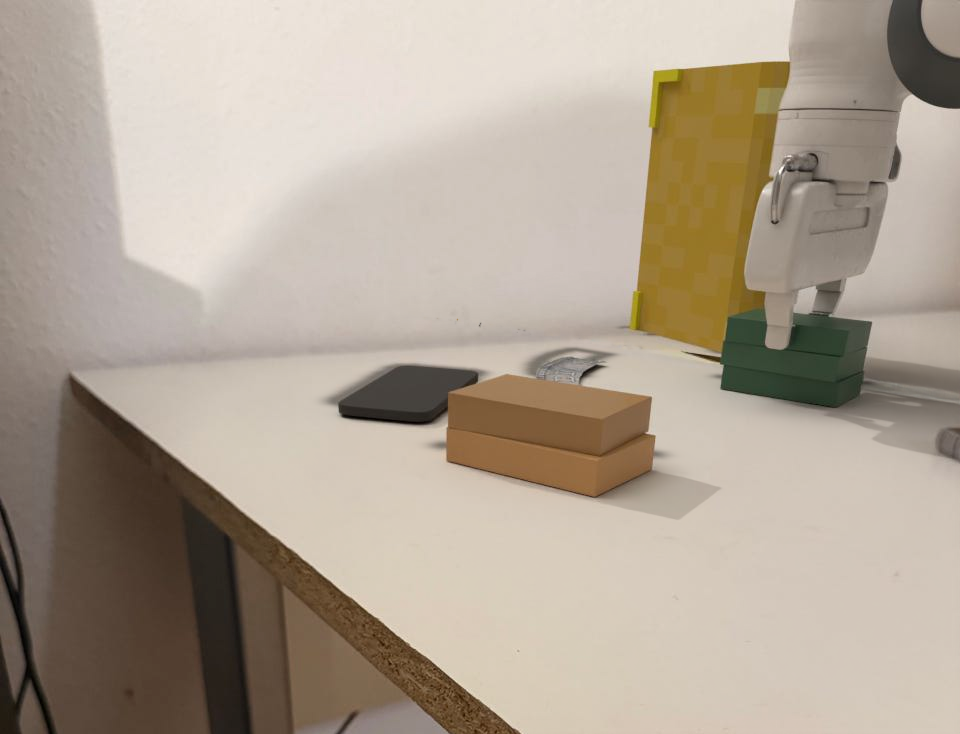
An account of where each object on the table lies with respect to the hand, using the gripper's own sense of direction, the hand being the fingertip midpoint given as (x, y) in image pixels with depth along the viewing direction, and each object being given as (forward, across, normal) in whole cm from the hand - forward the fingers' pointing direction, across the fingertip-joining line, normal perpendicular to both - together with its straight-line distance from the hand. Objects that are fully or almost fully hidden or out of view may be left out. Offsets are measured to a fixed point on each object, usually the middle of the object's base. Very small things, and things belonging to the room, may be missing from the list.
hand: (798, 340), depth 80 cm
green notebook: (0, 0, 0) cm, 0 cm away
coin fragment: (+4, -7, +18) cm, 20 cm away
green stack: (+4, 0, 0) cm, 4 cm away
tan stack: (+4, -32, +4) cm, 33 cm away
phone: (+4, -24, +22) cm, 33 cm away
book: (+4, +13, +14) cm, 20 cm away
